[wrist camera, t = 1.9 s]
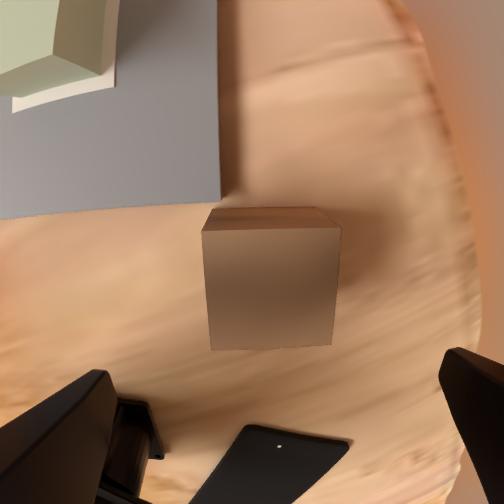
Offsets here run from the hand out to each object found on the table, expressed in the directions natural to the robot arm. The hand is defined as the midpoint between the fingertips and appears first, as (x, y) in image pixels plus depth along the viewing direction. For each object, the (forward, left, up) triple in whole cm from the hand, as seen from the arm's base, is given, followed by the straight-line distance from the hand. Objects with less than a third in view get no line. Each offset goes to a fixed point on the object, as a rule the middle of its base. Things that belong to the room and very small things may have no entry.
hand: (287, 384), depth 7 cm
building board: (+11, +9, -9) cm, 17 cm away
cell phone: (-22, +1, -10) cm, 24 cm away
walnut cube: (0, 0, -10) cm, 10 cm away
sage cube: (+12, +10, -8) cm, 18 cm away
